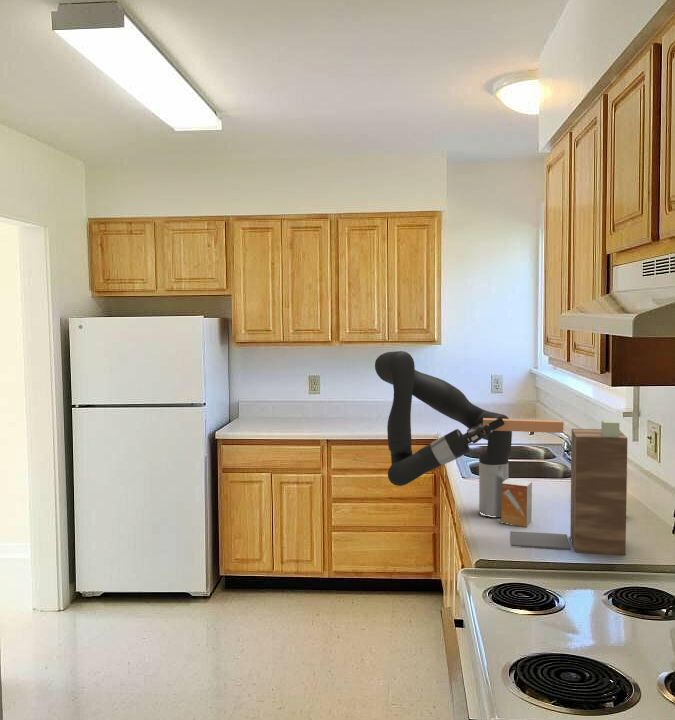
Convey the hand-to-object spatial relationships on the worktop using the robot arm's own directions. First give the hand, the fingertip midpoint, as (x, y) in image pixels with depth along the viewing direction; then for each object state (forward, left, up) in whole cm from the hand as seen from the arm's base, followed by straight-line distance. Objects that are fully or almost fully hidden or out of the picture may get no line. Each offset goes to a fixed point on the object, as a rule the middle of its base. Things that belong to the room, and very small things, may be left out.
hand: (502, 419), depth 204 cm
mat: (0, +10, -35) cm, 37 cm away
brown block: (0, +5, -3) cm, 6 cm away
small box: (-17, +4, -35) cm, 40 cm away
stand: (+1, +26, -35) cm, 44 cm away
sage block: (+5, +28, -3) cm, 29 cm away
